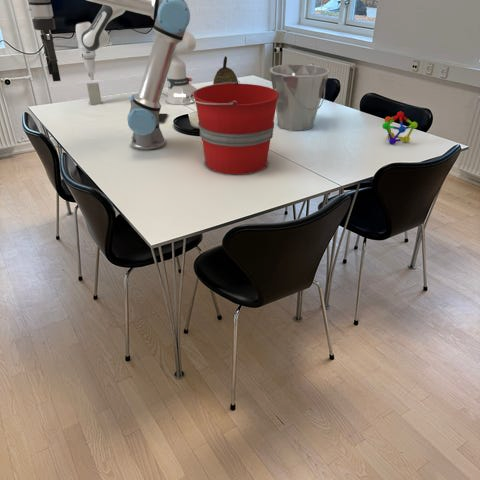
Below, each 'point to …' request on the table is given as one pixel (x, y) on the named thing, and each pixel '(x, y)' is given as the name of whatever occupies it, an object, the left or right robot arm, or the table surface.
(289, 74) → the bucket
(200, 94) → the bucket
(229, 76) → the bell
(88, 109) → the table surface
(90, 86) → the brick
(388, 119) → the educational toy
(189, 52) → the right robot arm
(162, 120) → the smartphone
